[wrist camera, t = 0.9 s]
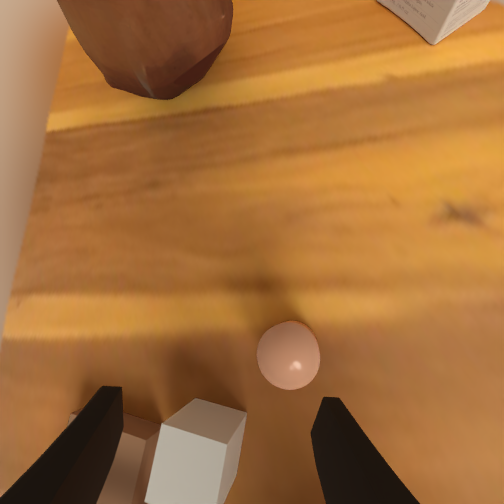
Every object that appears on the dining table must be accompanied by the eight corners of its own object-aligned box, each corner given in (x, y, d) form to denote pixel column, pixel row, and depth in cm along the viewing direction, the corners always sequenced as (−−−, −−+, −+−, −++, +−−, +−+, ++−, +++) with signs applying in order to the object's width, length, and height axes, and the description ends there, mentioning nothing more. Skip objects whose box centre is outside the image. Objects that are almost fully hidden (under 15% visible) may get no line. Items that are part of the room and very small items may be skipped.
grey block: (236, 474, 21) (212, 529, 16) (183, 456, 22) (144, 501, 17) (247, 412, 22) (227, 444, 17) (195, 397, 23) (161, 423, 18)
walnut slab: (145, 517, 22) (120, 548, 19) (75, 487, 24) (43, 511, 21) (166, 424, 23) (146, 440, 20) (98, 401, 25) (70, 413, 22)
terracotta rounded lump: (314, 378, 21) (315, 397, 17) (264, 365, 22) (251, 380, 18) (321, 325, 22) (324, 329, 17) (272, 316, 23) (262, 317, 18)
